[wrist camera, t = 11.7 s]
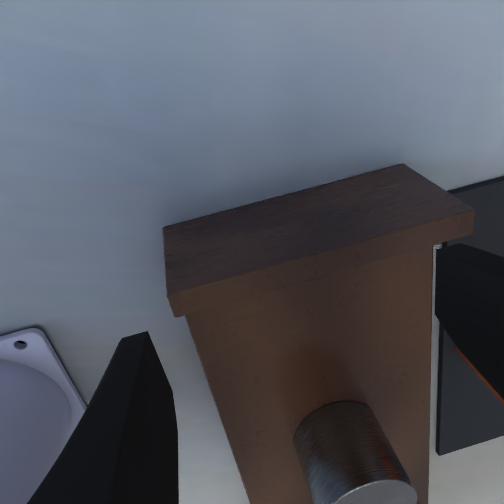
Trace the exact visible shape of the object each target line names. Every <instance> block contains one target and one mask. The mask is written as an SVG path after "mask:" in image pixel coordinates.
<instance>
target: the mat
mask: <svg viewBox="0 0 504 504" xmlns="http://www.w3.org/2000/svg"><path fill="white" fill-rule="evenodd" d="M448 193H450V194H451V195H453V196H454V197H456V198H457V199H459V200H460V201H462V202H464V203H465V204H467V205H468V206H470V207H471V208H473V209H474V210H475V221H474V233H473V234H471V235H468V236H464V237H461V238H457V239H454V240H450V241H447V242H443V247H447V246H450V245H454V244H458V243H462V244H465V245H469V246H472V247H475V248H478V249H481V250H484V251H487V252H490V253H493V254H496V255H499V256H501V257H504V177H500V178H496V179H493V180H489V181H485V182H482V183H478V184H474V185H471V186H467V187H463V188H460V189H456V190H452V191H449V192H448ZM503 435H504V405H503V403H502V402H501V401H500V400H499V399H498V398H497V397H496V395H495V394H494V393H493V392H492V391H491V390H490V389H489V387H488V386H487V385H486V384H485V383H484V382H483V381H482V379H481V378H480V377H479V376H478V375H477V374H476V373H475V371H474V370H473V369H472V368H471V367H470V366H469V365H468V363H467V362H466V361H465V360H464V359H463V358H462V357H461V355H460V354H459V353H458V352H457V351H456V345H455V344H454V342H453V341H452V339H451V338H450V336H449V335H448V334H447V332H446V331H445V329H444V327H443V326H442V324H441V323H440V349H439V380H438V411H437V443H436V452H437V453H438V455H439V456H441V455H444V454H447V453H450V452H453V451H456V450H459V449H463V448H466V447H469V446H472V445H475V444H478V443H481V442H485V441H488V440H491V439H494V438H497V437H500V436H503Z"/></svg>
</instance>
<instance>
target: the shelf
mask: <svg viewBox="0 0 504 504" xmlns="http://www.w3.org/2000/svg"><path fill="white" fill-rule="evenodd" d="M474 221H475V210H474V209H473V208H471V207H470V206H468V205H467V204H465V203H464V202H462V201H460V200H459V199H457V198H456V197H454V196H453V195H451V194H450V193H448V192H447V191H445V190H443V189H442V188H440V187H439V186H437V185H436V184H434V183H433V182H431V181H429V180H428V179H426V178H425V177H423V176H422V175H420V174H419V173H417V172H416V171H414V170H412V169H411V168H409V167H408V166H406V165H405V164H400V165H396V166H393V167H389V168H385V169H381V170H378V171H374V172H370V173H366V174H362V175H359V176H355V177H351V178H347V179H344V180H340V181H336V182H332V183H329V184H325V185H321V186H317V187H314V188H310V189H306V190H302V191H298V192H295V193H291V194H287V195H283V196H280V197H276V198H272V199H268V200H265V201H261V202H257V203H253V204H250V205H246V206H242V207H238V208H234V209H231V210H227V211H223V212H219V213H216V214H212V215H208V216H204V217H201V218H197V219H193V220H189V221H186V222H182V223H178V224H174V225H170V226H167V227H163V242H164V258H165V274H166V290H167V298H168V300H169V303H170V306H171V309H172V311H173V314H174V317H180V316H183V315H185V317H186V320H187V323H188V326H189V329H190V332H191V335H192V338H193V340H194V343H195V346H196V349H197V352H198V355H199V358H200V361H201V363H202V366H203V369H204V372H205V375H206V378H207V381H208V383H209V386H210V389H211V392H212V395H213V398H214V401H215V404H216V406H217V409H218V412H219V415H220V418H221V421H222V424H223V427H224V429H225V432H226V435H227V438H228V441H229V444H230V447H231V450H232V452H233V455H234V458H235V461H236V464H237V467H238V470H239V472H240V475H241V478H242V481H243V484H244V487H245V490H246V493H247V495H248V498H249V501H250V504H313V502H312V498H311V495H310V492H309V489H308V486H307V483H306V480H305V477H304V474H303V471H302V468H301V465H300V462H299V459H298V456H297V453H296V449H295V446H294V436H295V433H296V430H297V428H298V427H299V425H300V424H301V423H302V421H303V420H304V419H305V418H306V417H307V416H309V415H310V414H311V413H313V412H314V411H316V410H318V409H319V408H321V407H324V406H326V405H329V404H332V403H336V402H342V401H353V402H358V403H362V404H364V405H366V406H367V407H369V408H370V409H371V410H372V411H373V413H374V414H375V416H376V418H377V420H378V422H379V424H380V425H381V427H382V429H383V431H384V433H385V435H386V436H387V438H388V440H389V442H390V444H391V446H392V447H393V449H394V451H395V453H396V455H397V457H398V458H399V460H400V462H401V464H402V466H403V468H404V469H405V471H406V473H407V475H408V477H409V479H410V480H411V482H412V484H413V486H414V488H415V490H416V492H417V498H418V499H417V504H428V488H429V436H430V383H431V330H432V278H433V245H436V244H439V243H443V242H447V241H450V240H454V239H457V238H461V237H464V236H468V235H471V234H473V233H474Z"/></svg>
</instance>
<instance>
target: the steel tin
mask: <svg viewBox="0 0 504 504" xmlns="http://www.w3.org/2000/svg"><path fill="white" fill-rule="evenodd" d="M294 446H295V449H296V453H297V456H298V459H299V462H300V465H301V468H302V471H303V474H304V477H305V480H306V483H307V486H308V489H309V492H310V495H311V498H312V502H313V504H417V499H418V498H417V492H416V490H415V488H414V486H413V484H412V482H411V480H410V479H409V477H408V475H407V473H406V471H405V469H404V468H403V466H402V464H401V462H400V460H399V458H398V457H397V455H396V453H395V451H394V449H393V447H392V446H391V444H390V442H389V440H388V438H387V436H386V435H385V433H384V431H383V429H382V427H381V425H380V424H379V422H378V420H377V418H376V416H375V414H374V413H373V411H372V410H371V409H370V408H369V407H367V406H366V405H364V404H362V403H358V402H353V401H342V402H336V403H332V404H329V405H326V406H324V407H321V408H319V409H318V410H316V411H314V412H313V413H311V414H310V415H309V416H307V417H306V418H305V419H304V420H303V421H302V423H301V424H300V425H299V427H298V428H297V430H296V433H295V436H294Z"/></svg>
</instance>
